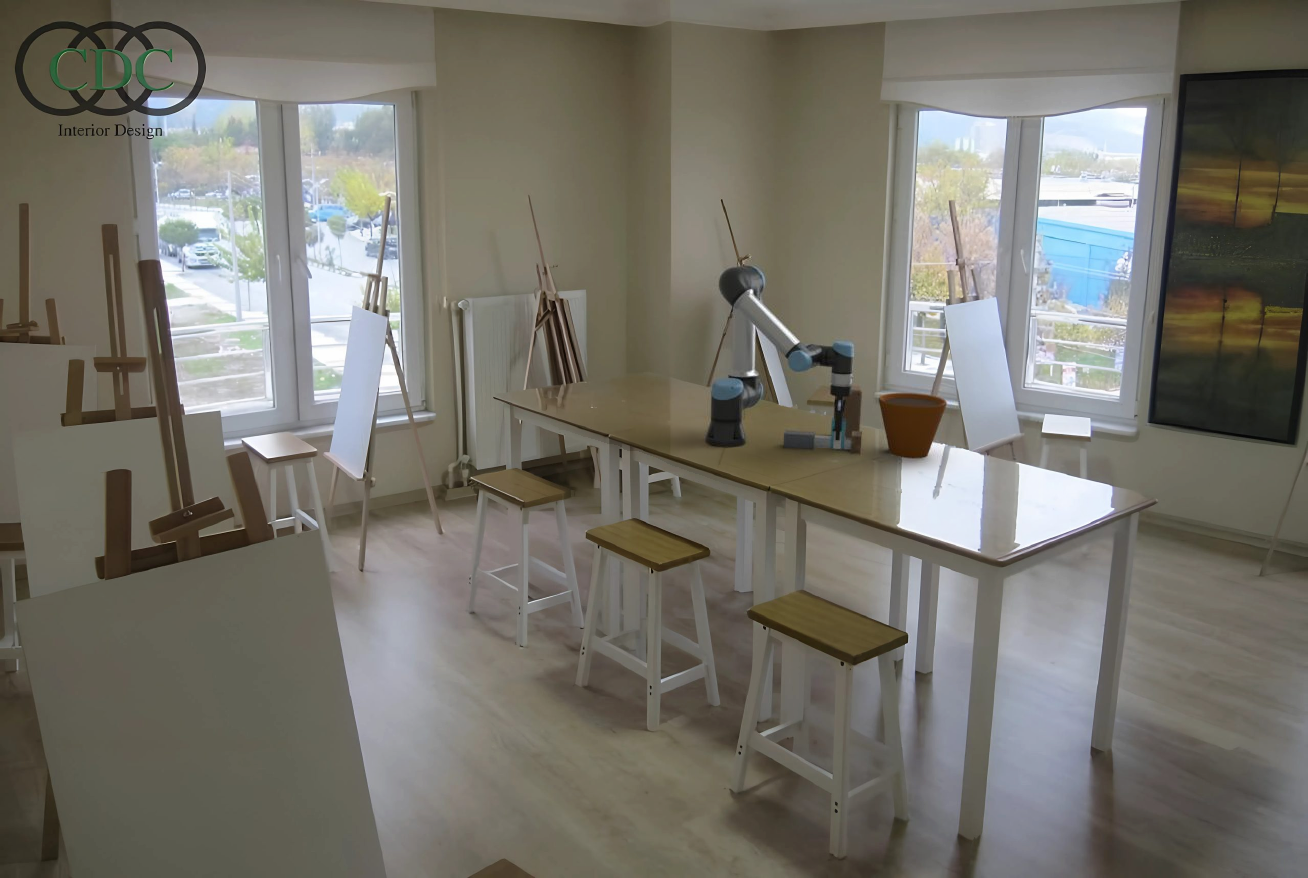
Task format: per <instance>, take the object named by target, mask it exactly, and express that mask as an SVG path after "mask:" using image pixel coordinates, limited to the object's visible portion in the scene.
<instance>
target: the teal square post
mask: <svg viewBox="0 0 1308 878" xmlns="http://www.w3.org/2000/svg"><path fill="white" fill-rule="evenodd" d="M834 428H835V418H834V417H832V418H831V429H830V435H818V434H817V435H816V434H815V436H814V448H824V449H833V450H834V448H833V443H834V431H832V430H834ZM845 428H846V419H844V418H842V436H841V449H840V450H851V440H852V438H850V437H845Z"/></svg>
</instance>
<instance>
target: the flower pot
mask: <svg viewBox="0 0 1308 878" xmlns="http://www.w3.org/2000/svg"><path fill="white" fill-rule="evenodd" d="M878 403H879V407H880V412H881V417H882V422H883V423H882V424H883V426H884V431H885V436H886V437H885V438H886V440H887V441H886V442H887V446H888V451H889V454H891V455H893V456H896V457H900V458H906V459H923V458H927V457H928V456H929V452H930V450H931V447H932V445H933V442H934V439H935V437H936V434H937V432H938V428H939V426H940V423H941V420H942V417H943V416H944V412H945V410H946V406H947V401H946V400H945V399H944V398H942V397H940V396H935V395H930V394H925V393H916V392H915V393H913V392H894V393H887V394H886V393H885V394H882V395H880V396H879V398H878Z"/></svg>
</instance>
